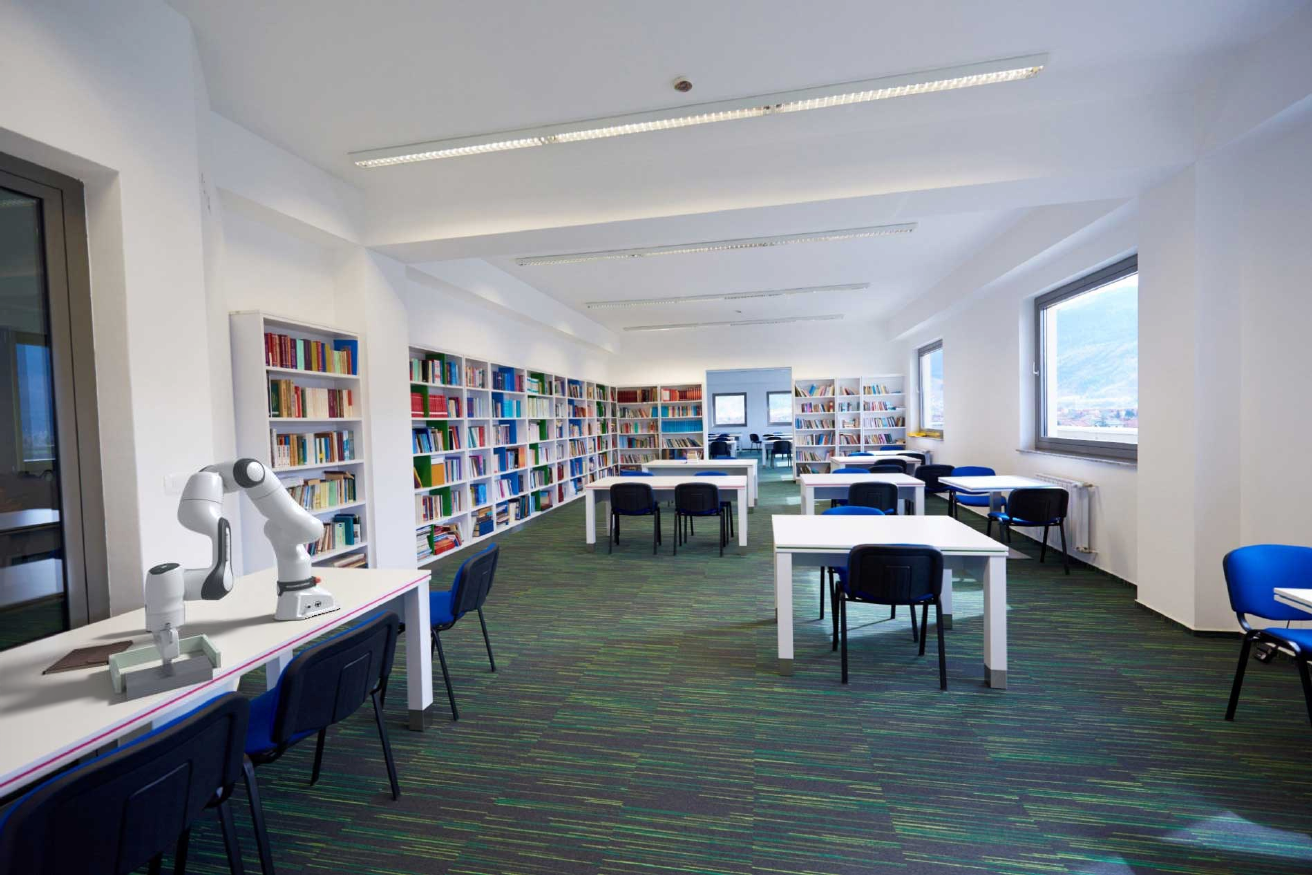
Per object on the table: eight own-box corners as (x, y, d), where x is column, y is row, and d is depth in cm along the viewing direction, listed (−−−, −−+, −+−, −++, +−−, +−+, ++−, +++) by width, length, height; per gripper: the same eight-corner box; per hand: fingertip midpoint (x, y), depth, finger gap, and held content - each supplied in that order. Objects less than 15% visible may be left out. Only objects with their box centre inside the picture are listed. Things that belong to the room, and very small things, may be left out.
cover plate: (206, 667, 172) (206, 654, 172) (212, 680, 162) (212, 666, 162) (125, 687, 159) (125, 673, 159) (127, 702, 150) (126, 687, 150)
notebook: (42, 676, 168) (42, 669, 168) (73, 654, 186) (73, 648, 186) (109, 666, 175) (109, 659, 175) (133, 645, 192) (132, 639, 192)
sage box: (205, 647, 187) (205, 634, 187) (220, 666, 171) (220, 651, 171) (109, 670, 171) (108, 655, 170) (116, 693, 154) (115, 677, 154)
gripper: (185, 625, 161) (186, 673, 162) (174, 610, 175) (175, 655, 175) (156, 630, 157) (157, 680, 157) (147, 615, 171) (148, 661, 171)
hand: (166, 666), depth 166 cm, fingers closed
